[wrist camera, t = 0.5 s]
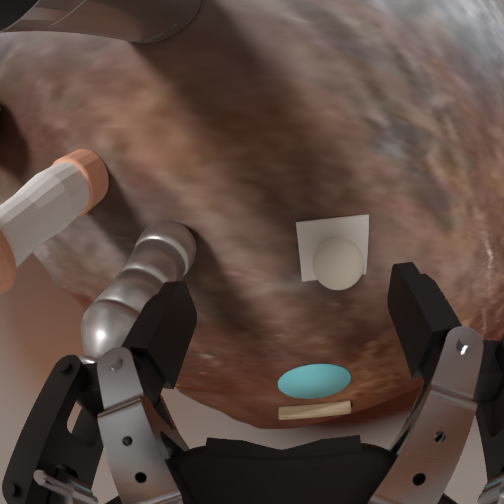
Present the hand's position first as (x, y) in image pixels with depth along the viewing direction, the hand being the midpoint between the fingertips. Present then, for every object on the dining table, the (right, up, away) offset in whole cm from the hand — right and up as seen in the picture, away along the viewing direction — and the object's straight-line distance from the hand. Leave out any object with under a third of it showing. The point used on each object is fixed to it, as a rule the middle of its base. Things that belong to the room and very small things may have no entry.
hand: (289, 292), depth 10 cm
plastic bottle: (-10, +3, +21) cm, 24 cm away
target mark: (+11, -23, +36) cm, 44 cm away
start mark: (+8, +2, +20) cm, 21 cm away
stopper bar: (+13, -33, +43) cm, 56 cm away
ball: (+8, 0, +18) cm, 19 cm away
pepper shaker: (-21, +11, +17) cm, 29 cm away
